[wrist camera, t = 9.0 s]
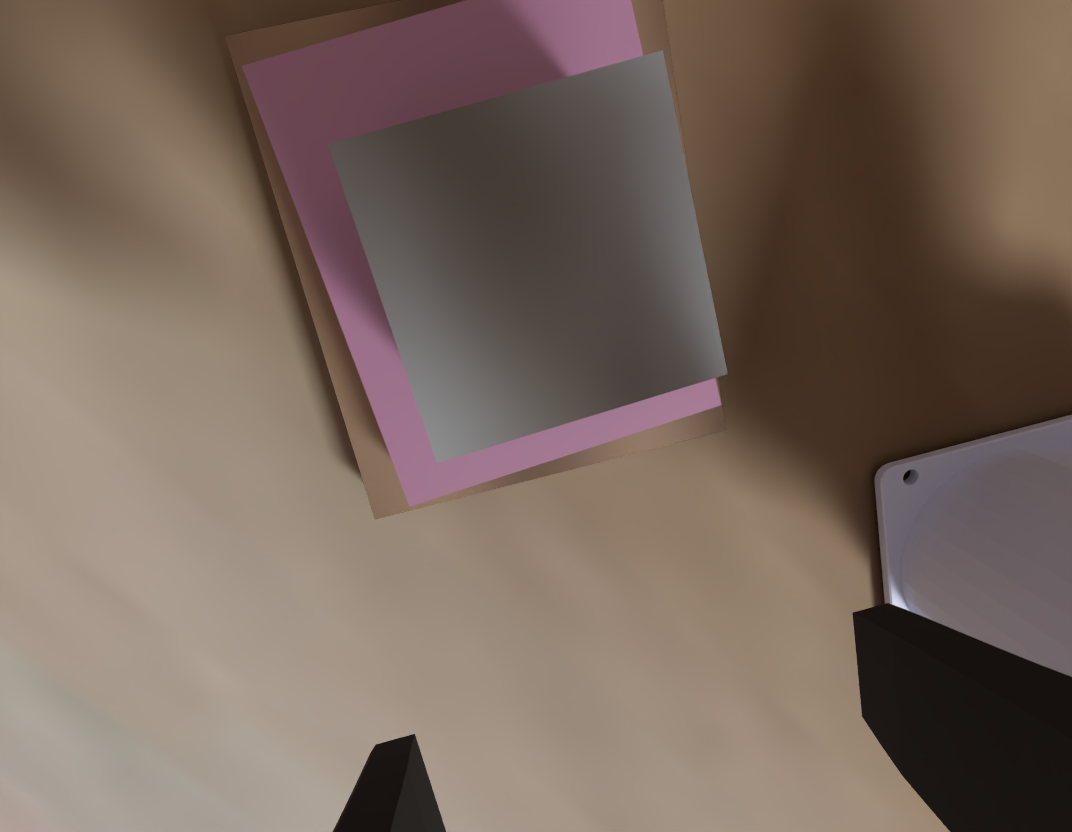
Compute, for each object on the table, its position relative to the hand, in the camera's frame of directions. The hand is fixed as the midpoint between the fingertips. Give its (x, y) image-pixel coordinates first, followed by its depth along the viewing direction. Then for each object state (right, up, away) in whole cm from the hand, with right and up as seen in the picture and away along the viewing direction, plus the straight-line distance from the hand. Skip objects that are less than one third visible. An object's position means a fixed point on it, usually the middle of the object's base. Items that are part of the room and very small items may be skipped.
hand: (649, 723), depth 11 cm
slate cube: (-2, +8, +4) cm, 10 cm away
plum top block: (-3, +9, +6) cm, 11 cm away
